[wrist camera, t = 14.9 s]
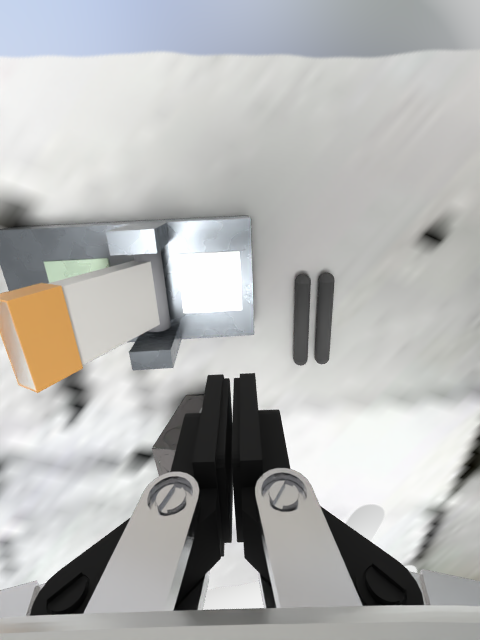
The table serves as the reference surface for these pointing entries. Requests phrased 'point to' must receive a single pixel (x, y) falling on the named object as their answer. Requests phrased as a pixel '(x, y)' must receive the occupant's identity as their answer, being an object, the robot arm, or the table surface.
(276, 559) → the robot arm
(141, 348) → the double window frame
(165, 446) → the electrical switch
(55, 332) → the breaker lever
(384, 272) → the table surface
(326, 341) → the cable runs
